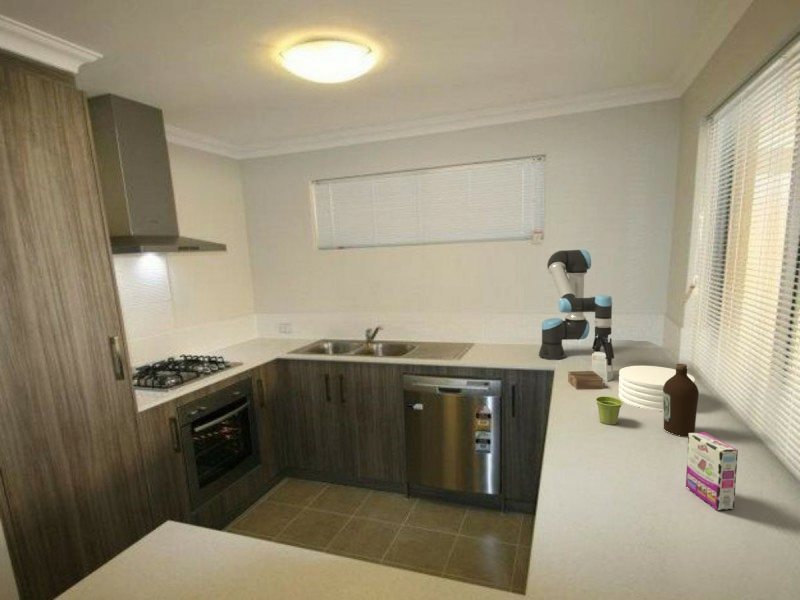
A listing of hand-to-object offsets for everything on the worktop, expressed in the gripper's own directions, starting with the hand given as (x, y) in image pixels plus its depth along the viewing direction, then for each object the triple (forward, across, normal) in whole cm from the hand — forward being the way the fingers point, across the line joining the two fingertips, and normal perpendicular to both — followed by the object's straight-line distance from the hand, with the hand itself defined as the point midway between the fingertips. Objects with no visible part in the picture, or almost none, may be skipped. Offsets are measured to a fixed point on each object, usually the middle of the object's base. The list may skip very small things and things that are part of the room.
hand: (602, 367), depth 212 cm
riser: (+6, +9, -12) cm, 16 cm away
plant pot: (+7, +52, -19) cm, 55 cm away
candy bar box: (+8, +101, -14) cm, 103 cm away
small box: (+6, 0, 0) cm, 6 cm away
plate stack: (+7, +30, +10) cm, 32 cm away
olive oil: (+7, +61, +2) cm, 61 cm away
